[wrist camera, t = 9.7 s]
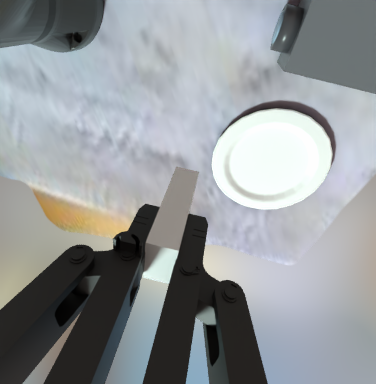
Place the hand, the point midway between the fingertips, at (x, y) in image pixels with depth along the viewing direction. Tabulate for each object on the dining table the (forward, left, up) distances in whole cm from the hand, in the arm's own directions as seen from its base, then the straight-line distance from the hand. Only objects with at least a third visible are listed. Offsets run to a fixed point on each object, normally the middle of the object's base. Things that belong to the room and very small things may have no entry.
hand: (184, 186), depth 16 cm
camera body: (+15, +11, -28) cm, 34 cm away
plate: (+13, -11, -29) cm, 33 cm away
